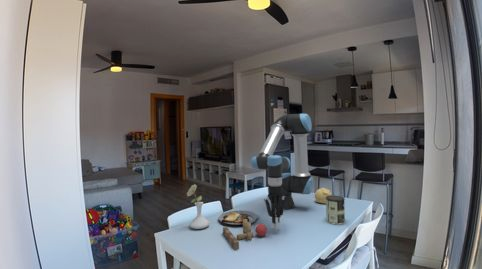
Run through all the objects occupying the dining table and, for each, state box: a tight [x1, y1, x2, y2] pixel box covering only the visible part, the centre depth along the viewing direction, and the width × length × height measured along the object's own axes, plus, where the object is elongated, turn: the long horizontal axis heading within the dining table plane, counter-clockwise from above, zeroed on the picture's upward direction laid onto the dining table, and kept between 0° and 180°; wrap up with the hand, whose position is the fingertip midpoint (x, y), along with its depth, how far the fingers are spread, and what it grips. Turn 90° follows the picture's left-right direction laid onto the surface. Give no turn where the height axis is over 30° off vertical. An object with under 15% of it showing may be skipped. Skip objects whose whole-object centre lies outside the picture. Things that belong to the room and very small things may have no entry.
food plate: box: [217, 210, 260, 226], centre depth 155 cm, size 25×23×4 cm
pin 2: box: [246, 221, 252, 242], centre depth 127 cm, size 2×2×8 cm
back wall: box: [222, 226, 240, 251], centre depth 126 cm, size 20×2×4 cm, turn 20°
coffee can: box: [325, 194, 346, 225], centre depth 149 cm, size 10×10×14 cm
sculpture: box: [314, 187, 333, 205], centre depth 186 cm, size 12×12×11 cm
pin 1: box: [242, 219, 247, 234], centre depth 132 cm, size 2×2×8 cm
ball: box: [254, 223, 268, 237], centre depth 131 cm, size 6×6×6 cm
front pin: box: [236, 231, 255, 241], centre depth 129 cm, size 2×2×8 cm
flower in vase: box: [186, 184, 211, 230], centre depth 145 cm, size 13×11×25 cm
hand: (276, 228), depth 135 cm, fingers closed
